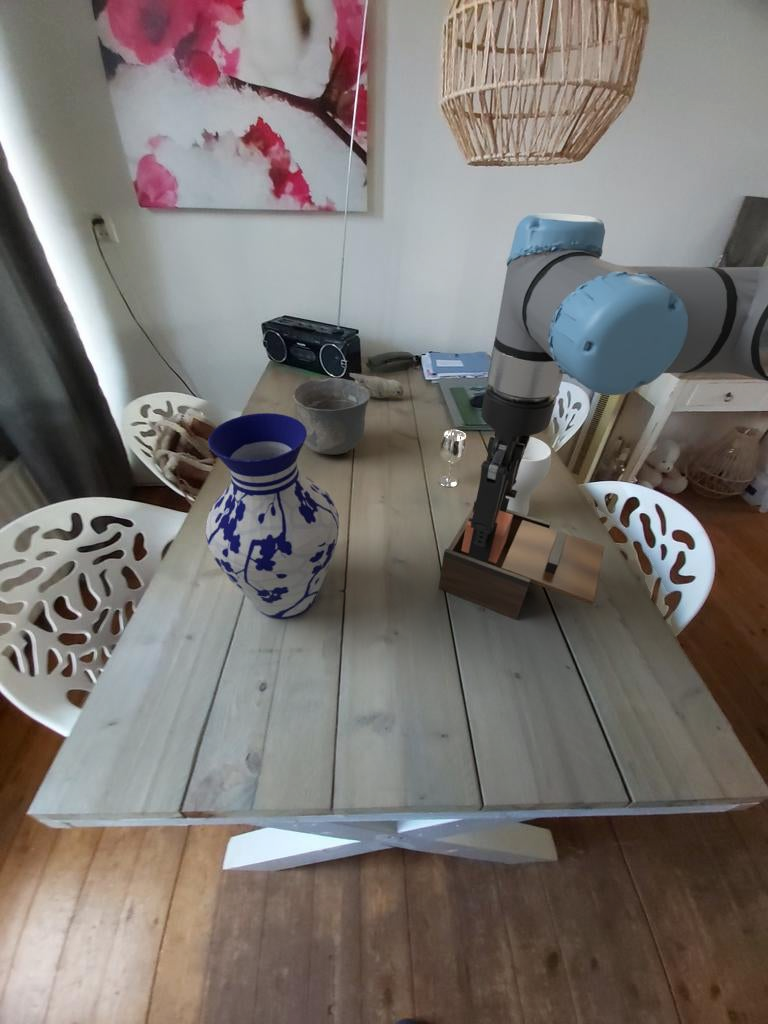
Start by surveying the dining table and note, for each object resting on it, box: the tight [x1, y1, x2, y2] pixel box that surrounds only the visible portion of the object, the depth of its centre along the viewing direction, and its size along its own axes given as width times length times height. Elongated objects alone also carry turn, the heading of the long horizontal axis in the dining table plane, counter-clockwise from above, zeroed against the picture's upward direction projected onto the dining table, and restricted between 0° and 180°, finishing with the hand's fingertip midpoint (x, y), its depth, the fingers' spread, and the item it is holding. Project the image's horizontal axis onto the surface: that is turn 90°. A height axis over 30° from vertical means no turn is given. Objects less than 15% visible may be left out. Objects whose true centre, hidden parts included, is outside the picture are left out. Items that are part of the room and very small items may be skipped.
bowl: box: [292, 377, 371, 456], centre depth 105 cm, size 18×18×15 cm
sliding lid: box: [501, 520, 605, 606], centre depth 69 cm, size 13×14×3 cm
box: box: [438, 499, 552, 621], centre depth 76 cm, size 16×14×9 cm
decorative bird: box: [349, 372, 404, 401], centre depth 131 cm, size 5×16×7 cm, turn 85°
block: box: [461, 510, 513, 563], centre depth 61 cm, size 5×5×5 cm
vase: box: [205, 412, 340, 619], centre depth 65 cm, size 19×19×30 cm
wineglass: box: [438, 429, 468, 488], centre depth 96 cm, size 6×6×12 cm
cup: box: [506, 436, 552, 516], centre depth 88 cm, size 11×11×15 cm
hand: (484, 544), depth 62 cm, fingers closed on block, 5 cm apart
